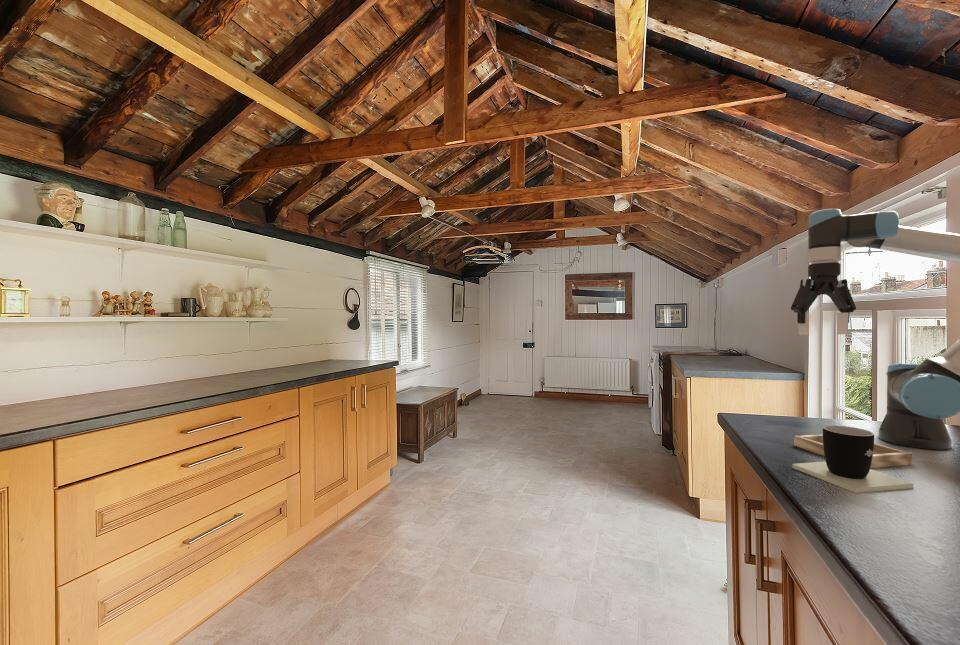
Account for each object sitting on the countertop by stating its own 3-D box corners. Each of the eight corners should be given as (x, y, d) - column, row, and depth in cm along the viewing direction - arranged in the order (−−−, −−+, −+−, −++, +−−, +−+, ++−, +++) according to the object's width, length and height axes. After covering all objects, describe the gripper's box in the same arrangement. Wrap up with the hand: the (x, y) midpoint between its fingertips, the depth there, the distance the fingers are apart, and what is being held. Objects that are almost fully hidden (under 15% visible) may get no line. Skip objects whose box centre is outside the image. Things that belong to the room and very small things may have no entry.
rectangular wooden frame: (839, 442, 125) (839, 433, 125) (912, 464, 107) (912, 453, 107) (793, 445, 123) (794, 436, 123) (861, 468, 105) (861, 457, 105)
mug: (871, 485, 92) (872, 438, 92) (818, 473, 98) (819, 430, 98) (876, 471, 100) (877, 428, 100) (827, 461, 107) (828, 421, 106)
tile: (843, 464, 108) (843, 460, 108) (913, 488, 93) (913, 483, 93) (792, 467, 105) (792, 463, 105) (855, 493, 90) (855, 488, 90)
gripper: (846, 265, 133) (845, 333, 133) (776, 263, 128) (776, 334, 129) (872, 262, 125) (871, 334, 126) (799, 260, 121) (798, 335, 121)
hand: (823, 334), depth 127 cm, fingers open, 13 cm apart
